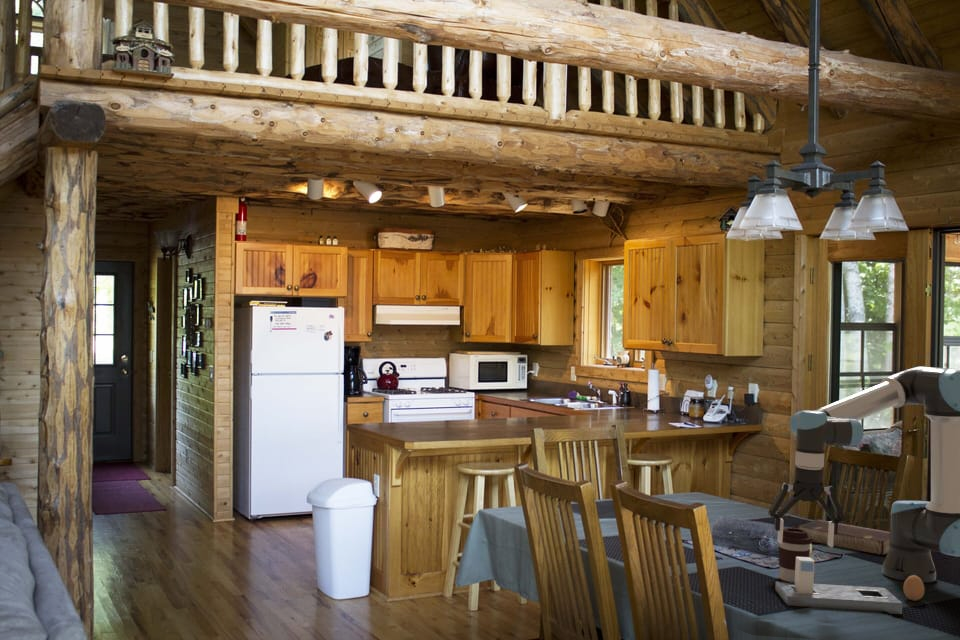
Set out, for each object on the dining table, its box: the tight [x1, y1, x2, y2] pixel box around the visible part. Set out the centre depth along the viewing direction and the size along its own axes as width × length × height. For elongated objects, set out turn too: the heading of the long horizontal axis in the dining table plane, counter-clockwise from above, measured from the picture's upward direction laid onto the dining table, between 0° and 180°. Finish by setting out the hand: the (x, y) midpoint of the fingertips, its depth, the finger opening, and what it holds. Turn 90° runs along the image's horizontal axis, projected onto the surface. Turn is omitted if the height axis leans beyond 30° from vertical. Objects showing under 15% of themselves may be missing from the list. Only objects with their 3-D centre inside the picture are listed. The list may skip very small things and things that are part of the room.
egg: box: [902, 575, 925, 602], centre depth 273 cm, size 5×5×7 cm
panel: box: [774, 581, 903, 615], centre depth 268 cm, size 30×14×3 cm, turn 86°
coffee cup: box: [776, 527, 813, 583], centre depth 288 cm, size 10×10×15 cm
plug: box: [794, 556, 815, 593], centre depth 268 cm, size 4×5×11 cm
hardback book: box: [798, 519, 890, 556], centre depth 341 cm, size 29×19×5 cm, turn 50°
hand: (804, 544), depth 268 cm, fingers open, 13 cm apart
